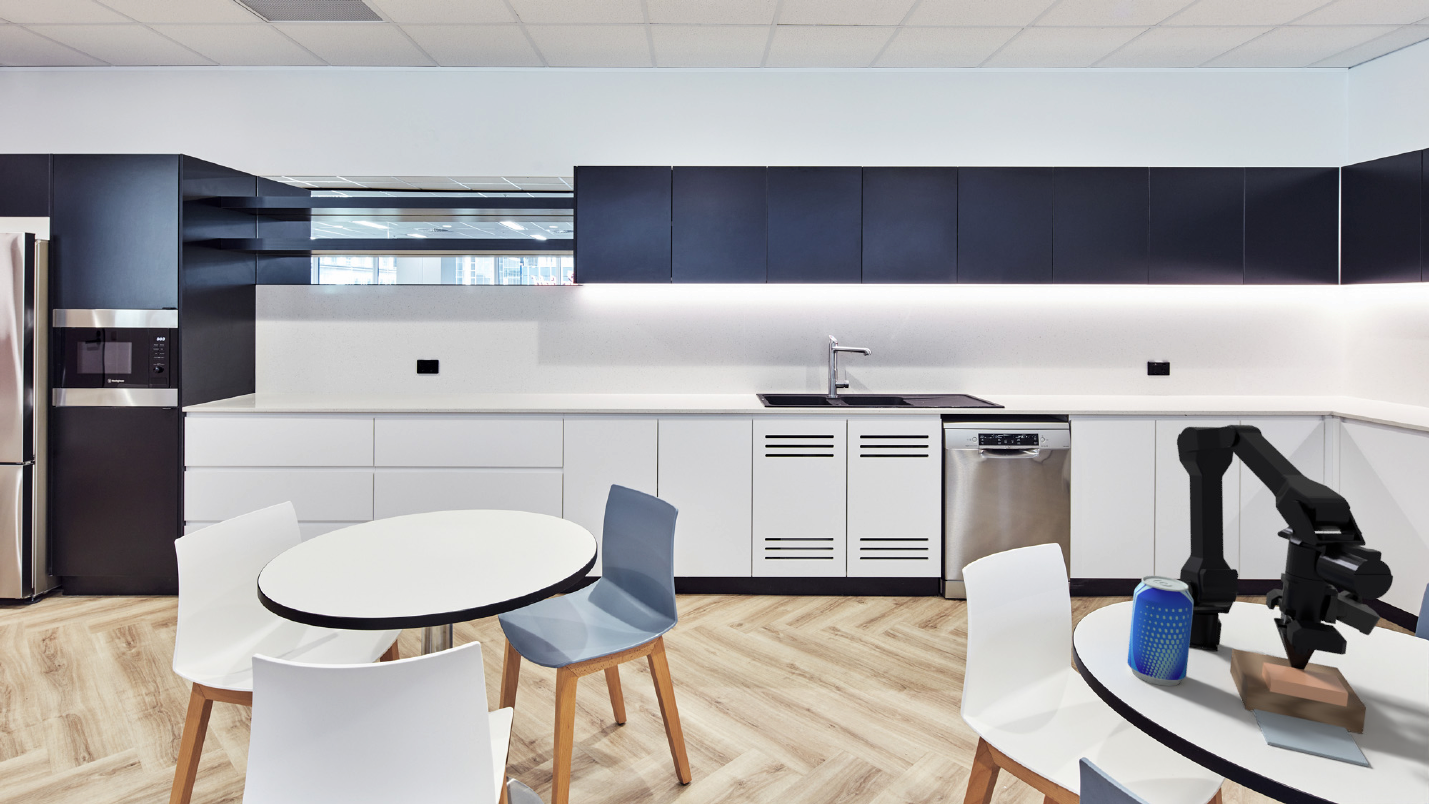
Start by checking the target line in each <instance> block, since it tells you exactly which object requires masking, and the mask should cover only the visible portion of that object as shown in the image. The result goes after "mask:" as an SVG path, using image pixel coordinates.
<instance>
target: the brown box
mask: <svg viewBox="0 0 1429 804" xmlns="http://www.w3.org/2000/svg"><path fill="white" fill-rule="evenodd" d="M1263 662H1265V663H1270V664H1275V665H1281V666H1286V667H1291V666H1290V663H1289V660H1288V658H1285V657H1280V656H1274V655H1268V654H1263V653H1259V652H1253V651H1252V652H1251V651H1246V650H1242V649H1241V650H1240V649H1235V648H1232V649H1231V660H1230V668H1229V672H1230V675H1231V677H1232V680H1233V682H1234V684H1235V687H1236V690H1237V692H1238V695H1239V698H1240V699H1241V702H1242V705H1243V707H1244V710H1247V711H1249V712H1250V711H1251V712H1254V709H1257V710H1262V711H1267V712H1272V713H1277V714H1282V715H1286V716H1291V717H1296V718H1301V719H1306V720H1311V721H1315V722H1320V723H1325V724H1330V725H1335V726H1339V727H1344V728H1346V729H1347V731H1348V732H1352V733H1356V734H1361V735H1364V727H1365V719H1366V712H1367V707H1366V705H1365V703H1364V702H1363V701H1362V699H1361V698H1360V696H1359V695H1358V694H1357V693H1356V691H1355V690H1354V688H1353V687H1352V685H1351V684H1350V683H1349V682H1348V680H1347V679H1346V678H1345V676H1344V675H1343V674H1342V672H1341V671H1340V669H1339V668H1338V667H1335V666H1330V665H1325V664H1319V663H1315V662H1314V663H1313V662H1308V663H1307V665H1306V667H1305V669H1304V670H1308V671H1313V672H1318V673H1324V674H1329V675H1334V676H1337V678H1338V679H1339V681H1340V682H1341V683H1342V685H1343V686H1344V688H1345V689H1346V691H1347V692H1348V699H1347V707H1346V706H1341V705H1336V704H1331V703H1326V702H1321V701H1316V700H1311V699H1306V698H1301V697H1296V696H1291V695H1286V694H1281V693H1275V692H1270V690H1269V688H1268V686H1267V684H1266V682H1265V680H1264V678H1263V676H1262V670H1263Z"/></svg>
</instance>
